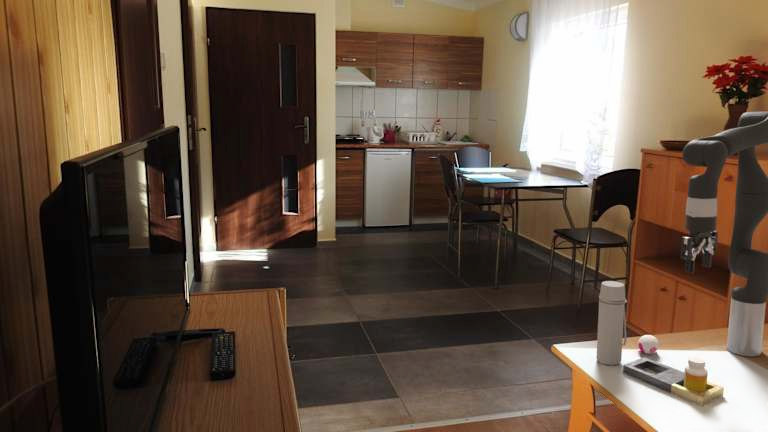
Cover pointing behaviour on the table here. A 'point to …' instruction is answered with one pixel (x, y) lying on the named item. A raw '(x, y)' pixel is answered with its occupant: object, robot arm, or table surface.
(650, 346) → the stress ball
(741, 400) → the table surface
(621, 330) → the water bottle
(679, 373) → the rail
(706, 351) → the table surface
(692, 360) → the supplement bottle
